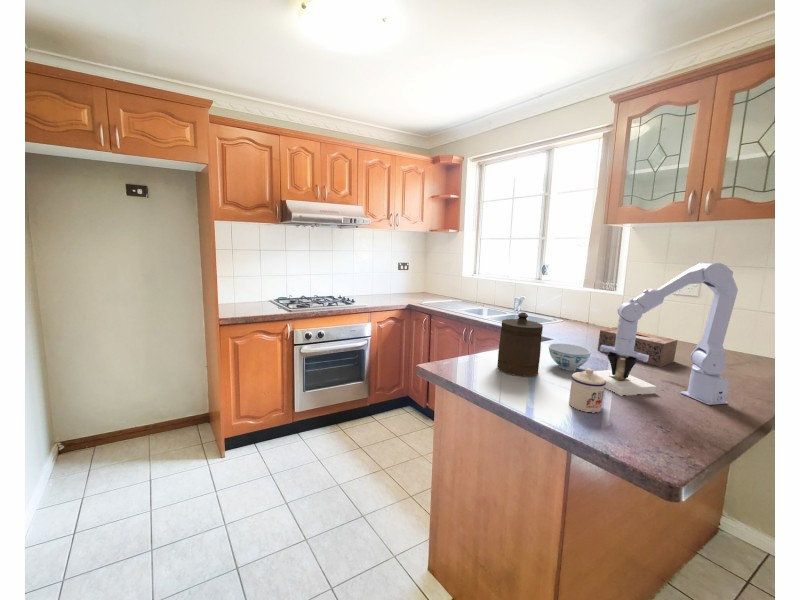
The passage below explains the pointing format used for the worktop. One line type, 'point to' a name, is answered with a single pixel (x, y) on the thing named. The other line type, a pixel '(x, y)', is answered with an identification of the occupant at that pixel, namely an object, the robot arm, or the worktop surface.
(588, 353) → the chinaware
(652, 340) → the tissue box cover
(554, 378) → the worktop surface
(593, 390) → the teacup with lid
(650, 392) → the socket plate
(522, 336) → the wooden container
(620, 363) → the peg
